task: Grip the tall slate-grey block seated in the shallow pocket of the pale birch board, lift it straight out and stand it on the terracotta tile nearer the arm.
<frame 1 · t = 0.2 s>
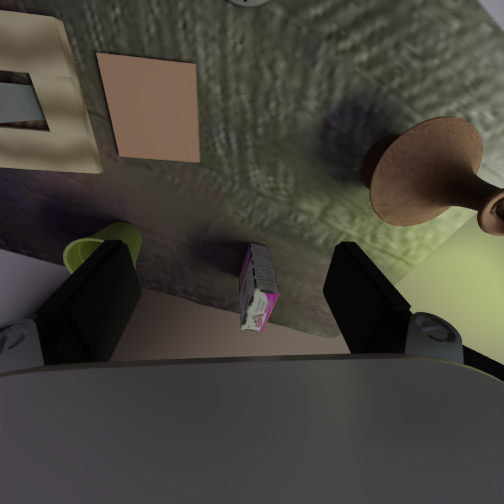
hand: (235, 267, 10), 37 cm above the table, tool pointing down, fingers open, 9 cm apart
candy bar box: (253, 261, 56), on the table
tile: (156, 114, 37), on the table
plant pot: (126, 235, 50), on the table
holder: (18, 101, 35), on the table
brown vase: (387, 164, 45), on the table
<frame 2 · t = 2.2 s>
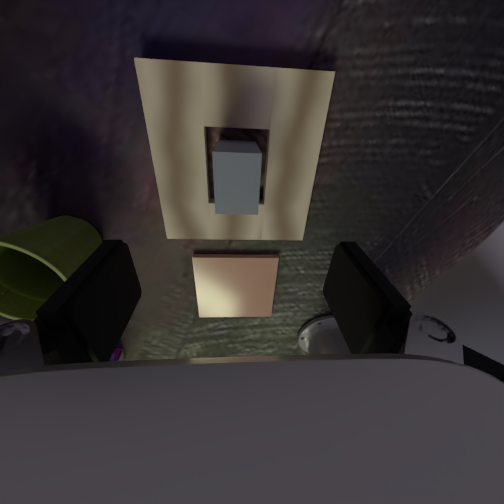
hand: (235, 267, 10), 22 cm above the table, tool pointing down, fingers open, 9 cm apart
tile: (235, 286, 41), on the table
plant pot: (77, 236, 34), on the table
holder: (236, 165, 29), on the table
block: (237, 174, 26), in the holder
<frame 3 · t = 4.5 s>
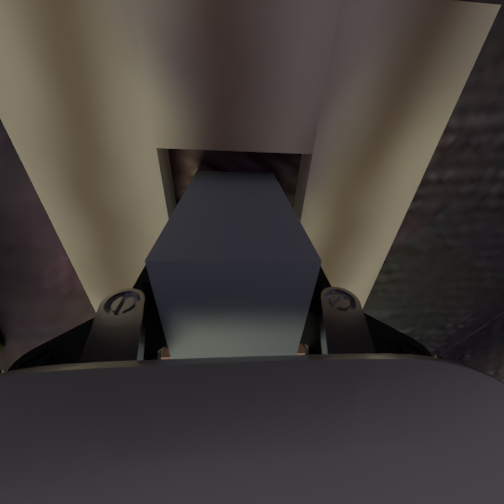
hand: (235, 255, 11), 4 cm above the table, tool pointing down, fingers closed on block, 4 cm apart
holder: (235, 219, 15), on the table
block: (235, 256, 11), in the holder, touching gripper
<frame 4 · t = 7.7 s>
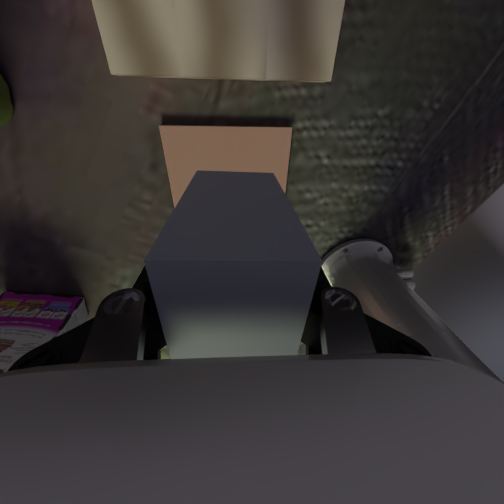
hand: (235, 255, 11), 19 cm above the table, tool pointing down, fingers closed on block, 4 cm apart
candy bar box: (51, 302, 37), on the table
tile: (229, 188, 28), on the table
block: (235, 256, 11), point 19 cm above the table, touching gripper
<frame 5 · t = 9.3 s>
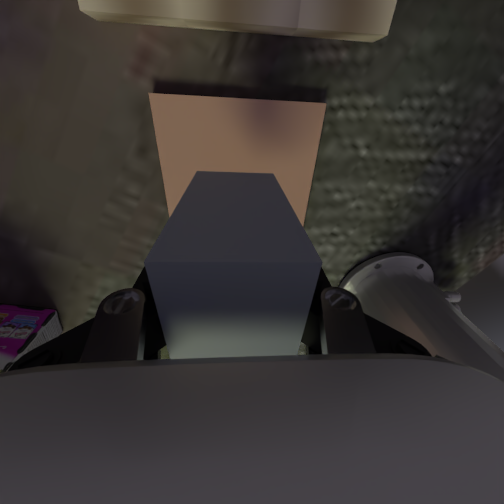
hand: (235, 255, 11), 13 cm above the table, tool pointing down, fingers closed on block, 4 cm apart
candy bar box: (18, 315, 31), on the table
tile: (238, 183, 22), on the table
block: (235, 257, 11), point 13 cm above the table, touching gripper
when the fingers open (7 cm above the table, at t = 10.8 s): block drops 1 cm, resting on tile.
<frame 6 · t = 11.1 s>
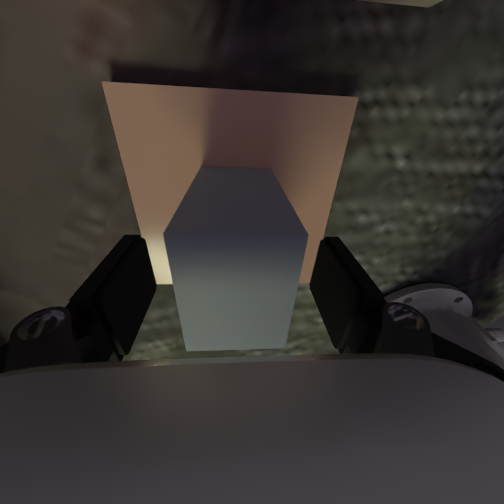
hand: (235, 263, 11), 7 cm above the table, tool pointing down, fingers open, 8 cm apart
tile: (235, 204, 17), on the table
block: (236, 242, 12), on the tile, point 6 cm above the table
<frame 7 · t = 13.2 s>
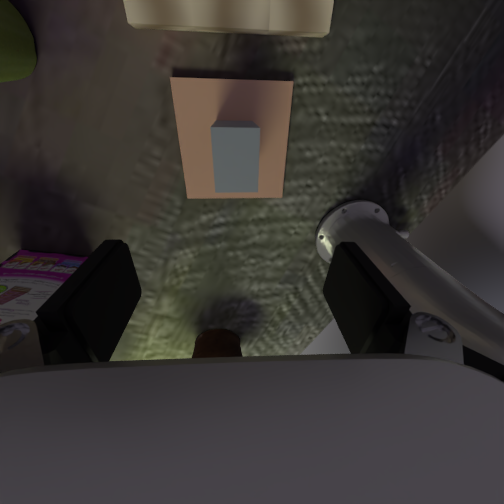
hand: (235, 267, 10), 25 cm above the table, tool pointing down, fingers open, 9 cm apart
candy bar box: (63, 263, 39), on the table
tile: (234, 145, 30), on the table
block: (235, 153, 25), on the tile, point 6 cm above the table
brown vase: (218, 342, 54), on the table
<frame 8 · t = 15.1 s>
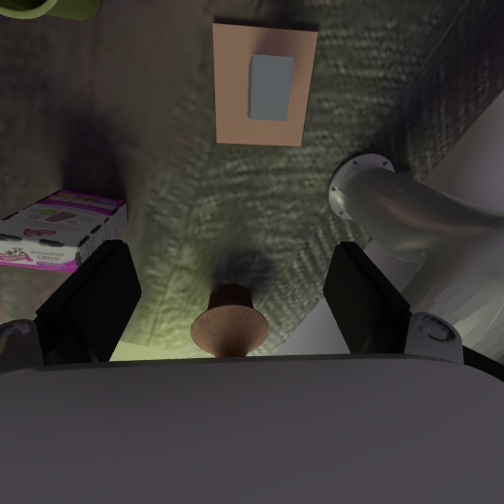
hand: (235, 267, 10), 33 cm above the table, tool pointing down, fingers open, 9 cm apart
candy bar box: (97, 206, 42), on the table
tile: (261, 93, 34), on the table
block: (266, 91, 29), on the tile, point 6 cm above the table
brown vase: (230, 299, 58), on the table
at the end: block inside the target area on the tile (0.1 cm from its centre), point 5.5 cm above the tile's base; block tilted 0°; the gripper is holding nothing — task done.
